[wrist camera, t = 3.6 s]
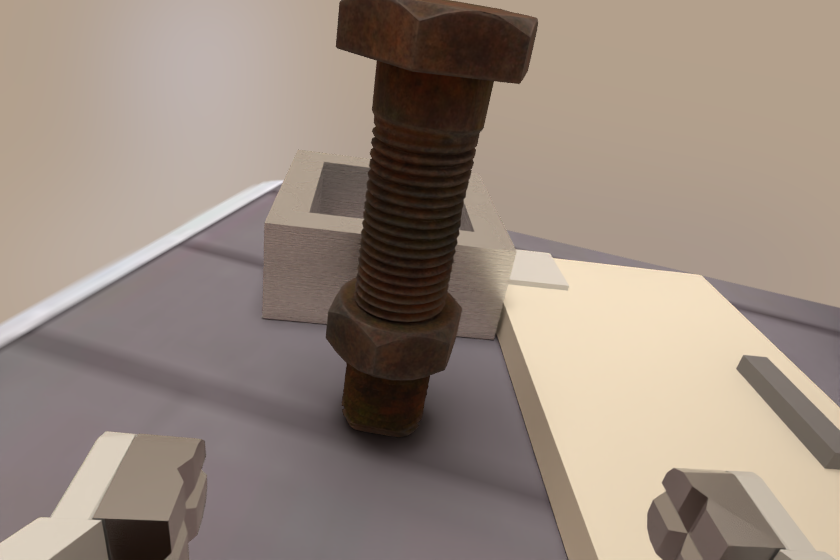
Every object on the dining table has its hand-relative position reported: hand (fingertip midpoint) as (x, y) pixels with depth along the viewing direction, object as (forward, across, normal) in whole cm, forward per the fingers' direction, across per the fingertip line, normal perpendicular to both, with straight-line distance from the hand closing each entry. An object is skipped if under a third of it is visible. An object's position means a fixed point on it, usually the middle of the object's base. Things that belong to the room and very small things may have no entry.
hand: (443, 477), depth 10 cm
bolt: (+10, 0, +8) cm, 13 cm away
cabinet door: (+12, -13, +8) cm, 19 cm away
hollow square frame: (+22, 0, +8) cm, 24 cm away
